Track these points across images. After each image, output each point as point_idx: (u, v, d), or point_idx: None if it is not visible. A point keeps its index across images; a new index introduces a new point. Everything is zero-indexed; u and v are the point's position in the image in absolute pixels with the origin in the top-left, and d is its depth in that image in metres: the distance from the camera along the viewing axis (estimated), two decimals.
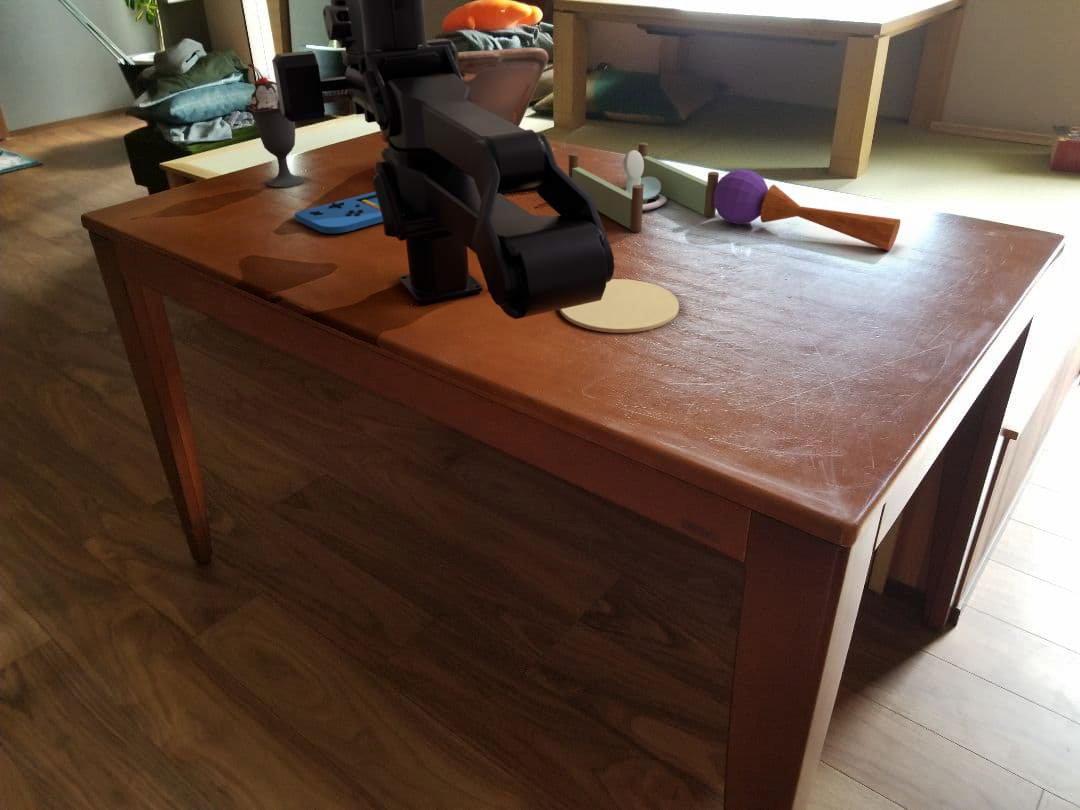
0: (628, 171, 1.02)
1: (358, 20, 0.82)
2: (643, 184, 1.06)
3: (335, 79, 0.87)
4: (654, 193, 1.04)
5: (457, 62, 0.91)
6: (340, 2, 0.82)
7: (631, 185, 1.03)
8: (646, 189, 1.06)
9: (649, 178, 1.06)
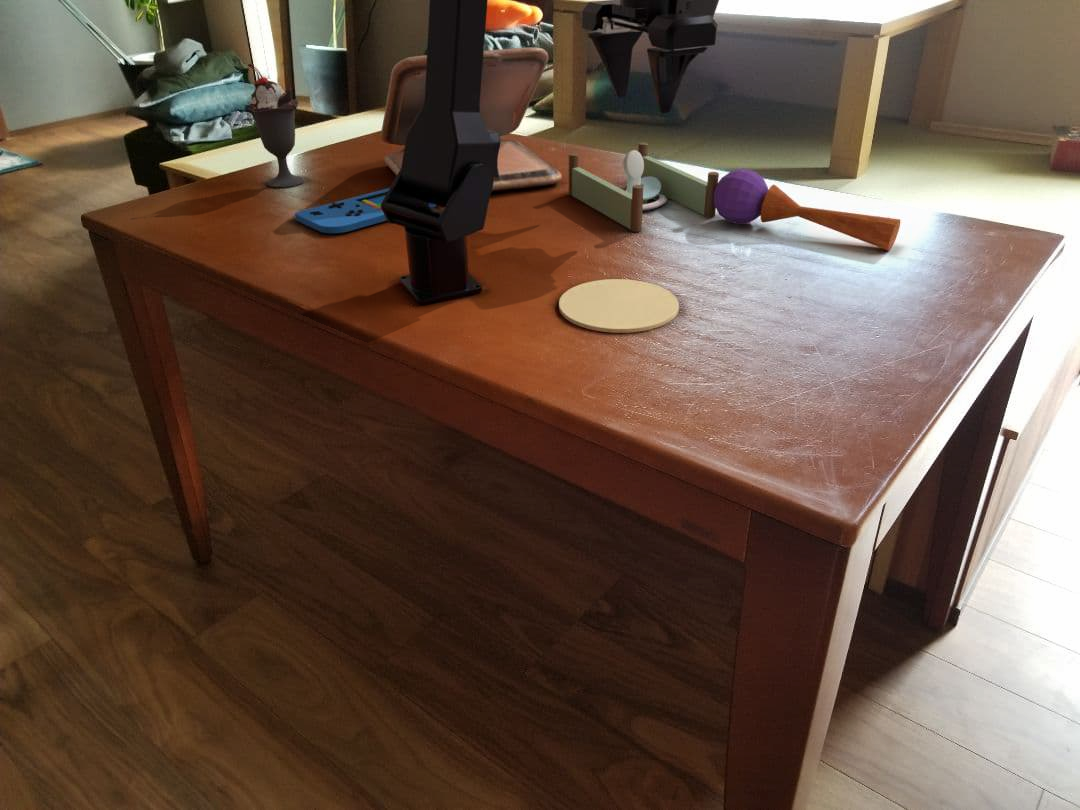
0: (628, 171, 1.02)
1: None
2: (643, 184, 1.06)
3: None
4: (654, 193, 1.04)
5: (703, 20, 0.87)
6: None
7: (631, 185, 1.03)
8: (646, 189, 1.06)
9: (649, 178, 1.06)
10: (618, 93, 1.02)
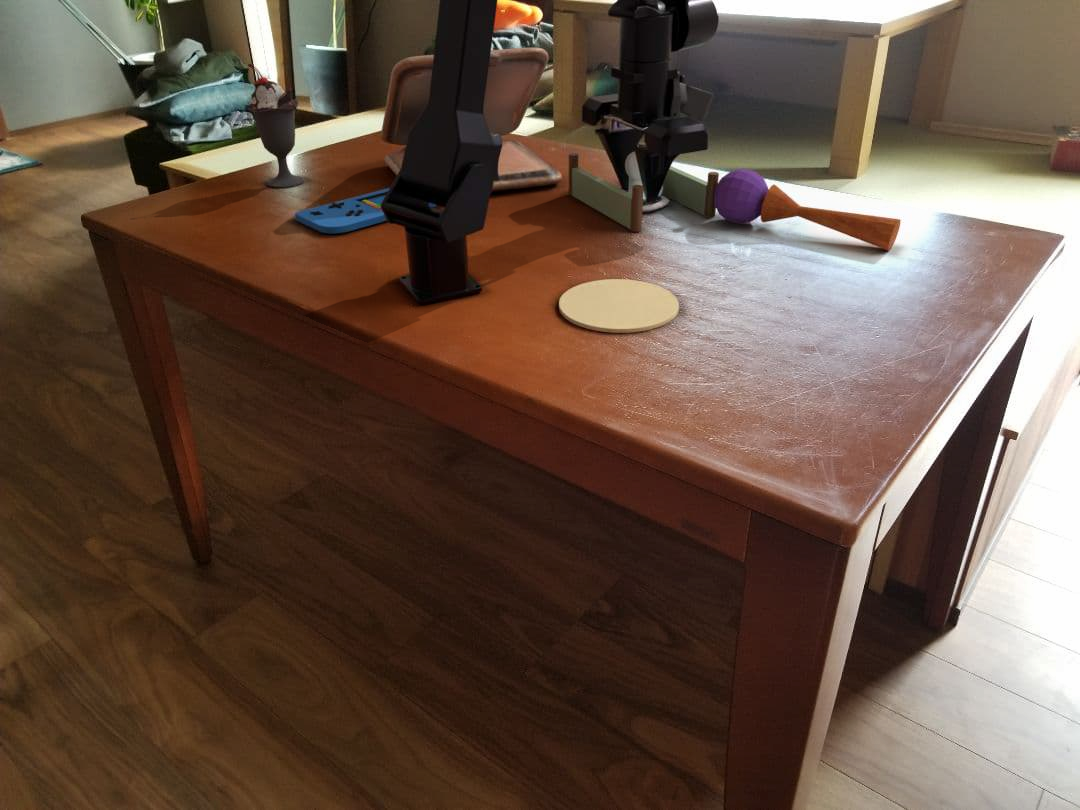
0: (630, 172, 1.02)
1: None
2: None
3: None
4: None
5: (695, 128, 0.93)
6: None
7: None
8: None
9: None
10: (624, 186, 1.06)
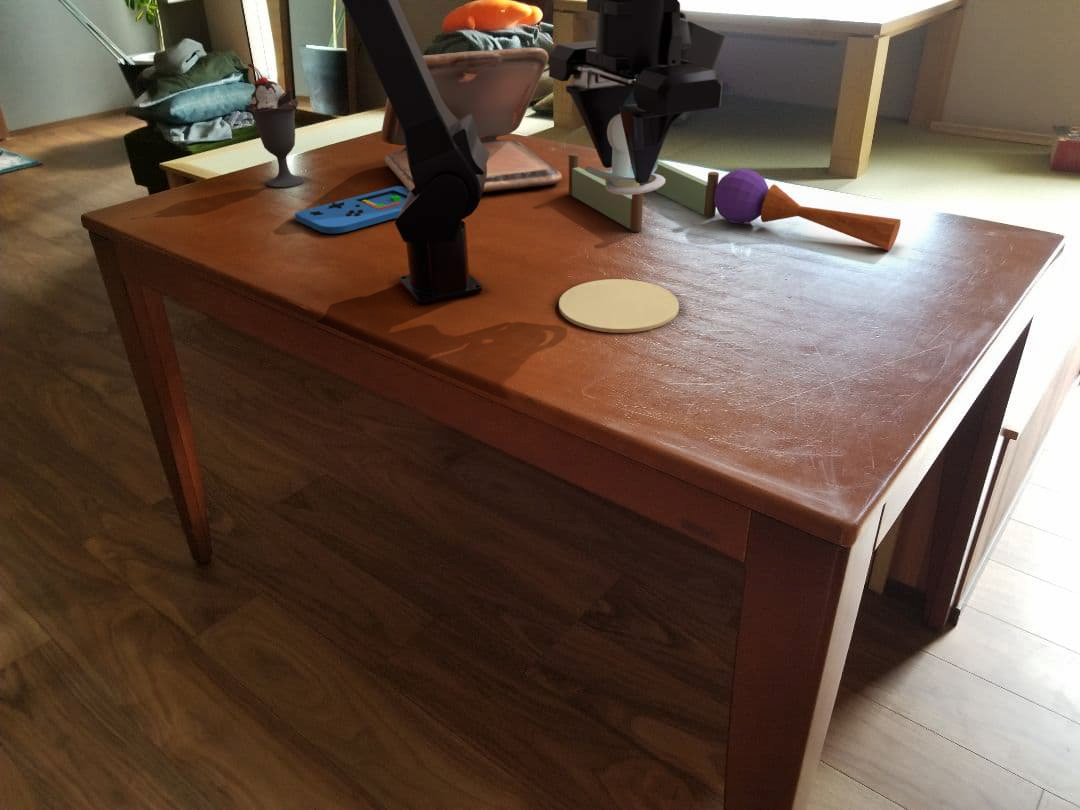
0: (614, 142, 0.76)
1: None
2: None
3: None
4: None
5: (704, 77, 0.67)
6: None
7: (617, 161, 0.77)
8: None
9: None
10: (605, 162, 0.80)
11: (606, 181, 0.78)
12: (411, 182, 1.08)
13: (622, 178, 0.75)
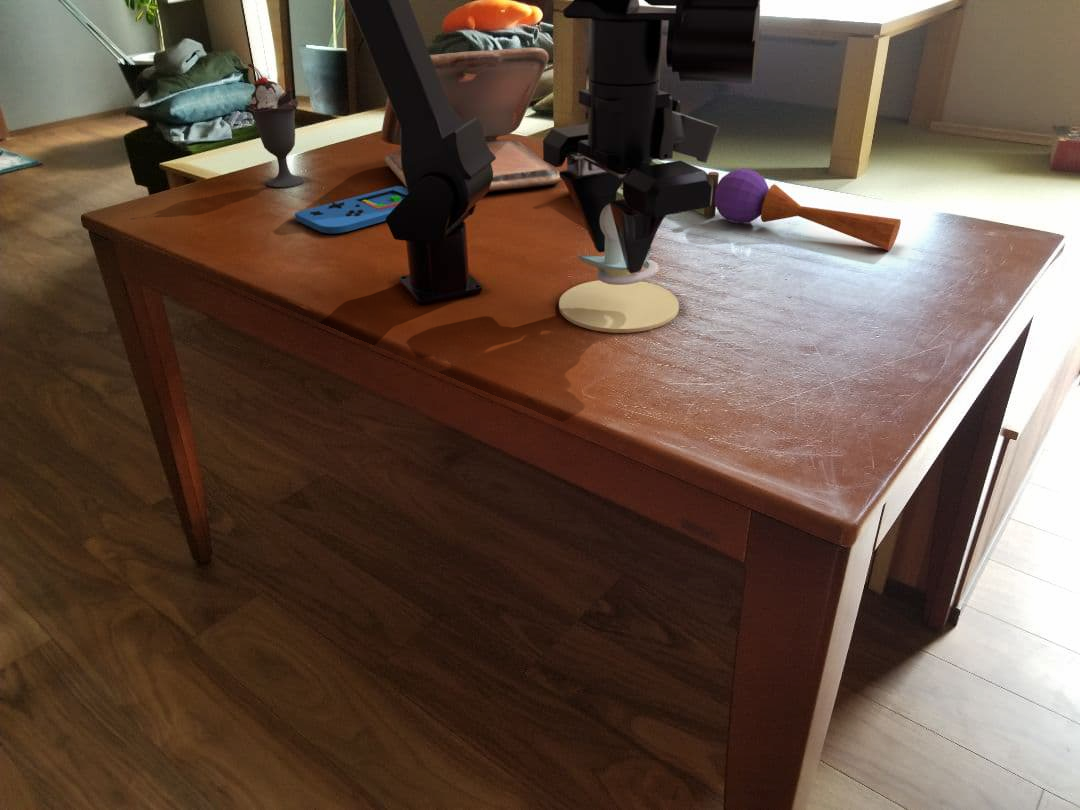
0: (606, 231, 0.75)
1: None
2: None
3: None
4: None
5: (694, 178, 0.66)
6: None
7: (610, 249, 0.76)
8: None
9: None
10: (598, 247, 0.79)
11: (598, 268, 0.77)
12: None
13: (614, 268, 0.75)
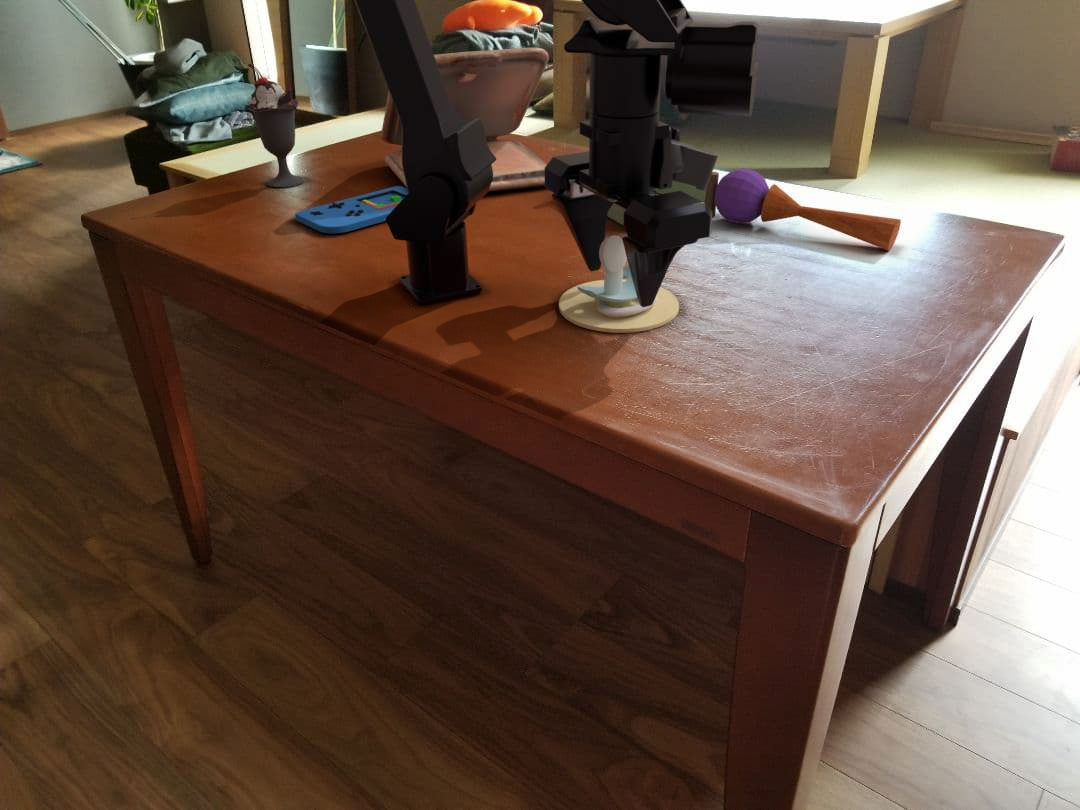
0: (605, 263, 0.77)
1: (673, 140, 0.76)
2: (627, 276, 0.81)
3: None
4: None
5: (693, 210, 0.67)
6: None
7: (609, 280, 0.78)
8: (631, 284, 0.80)
9: None
10: (590, 266, 0.82)
11: (598, 299, 0.79)
12: None
13: (613, 300, 0.76)
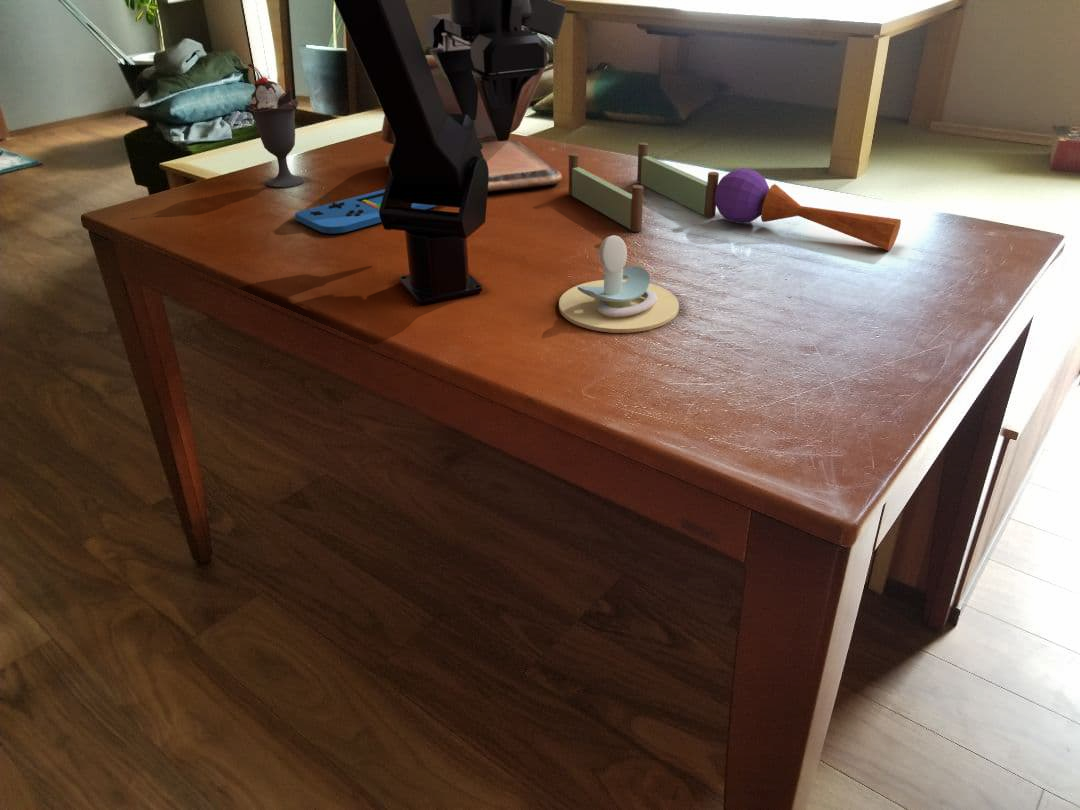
0: (605, 263, 0.77)
1: None
2: (627, 276, 0.81)
3: None
4: (640, 291, 0.78)
5: (526, 40, 0.77)
6: None
7: (609, 280, 0.78)
8: (631, 284, 0.80)
9: (635, 268, 0.81)
10: None
11: (598, 299, 0.79)
12: None
13: (613, 300, 0.76)
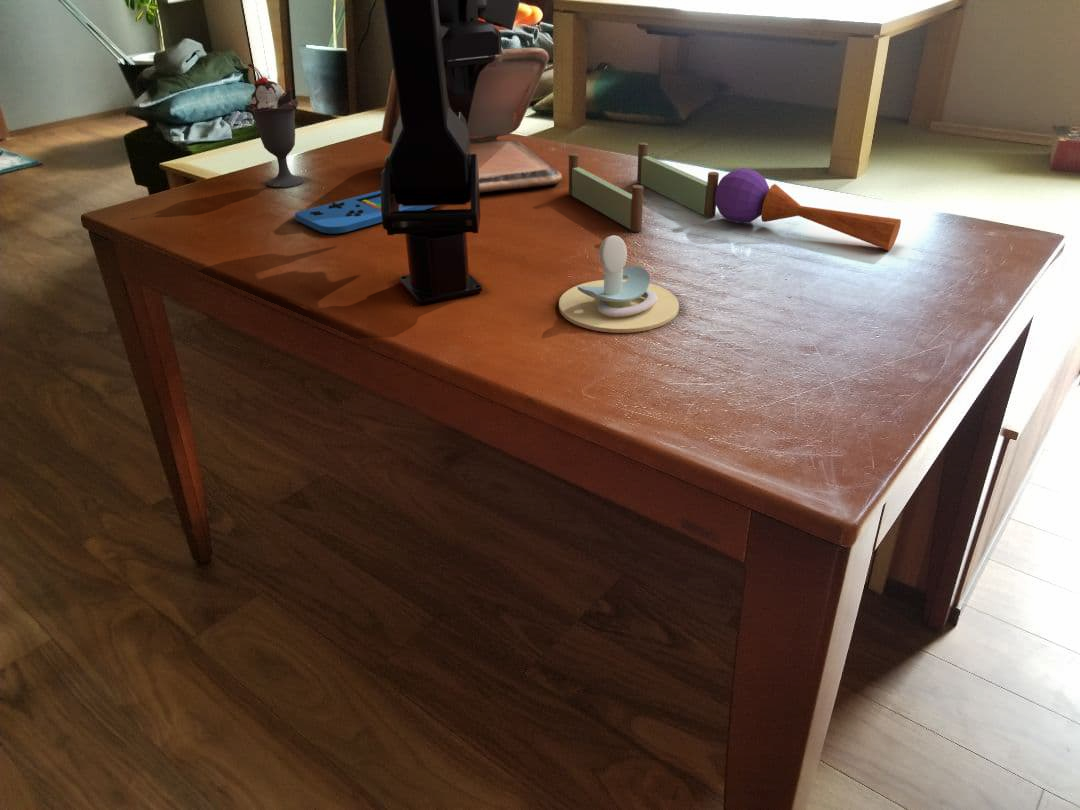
0: (605, 263, 0.77)
1: None
2: (627, 276, 0.81)
3: None
4: (640, 291, 0.78)
5: (482, 29, 0.83)
6: None
7: (609, 280, 0.78)
8: (631, 284, 0.80)
9: (635, 268, 0.81)
10: None
11: (598, 299, 0.79)
12: None
13: (613, 300, 0.76)
